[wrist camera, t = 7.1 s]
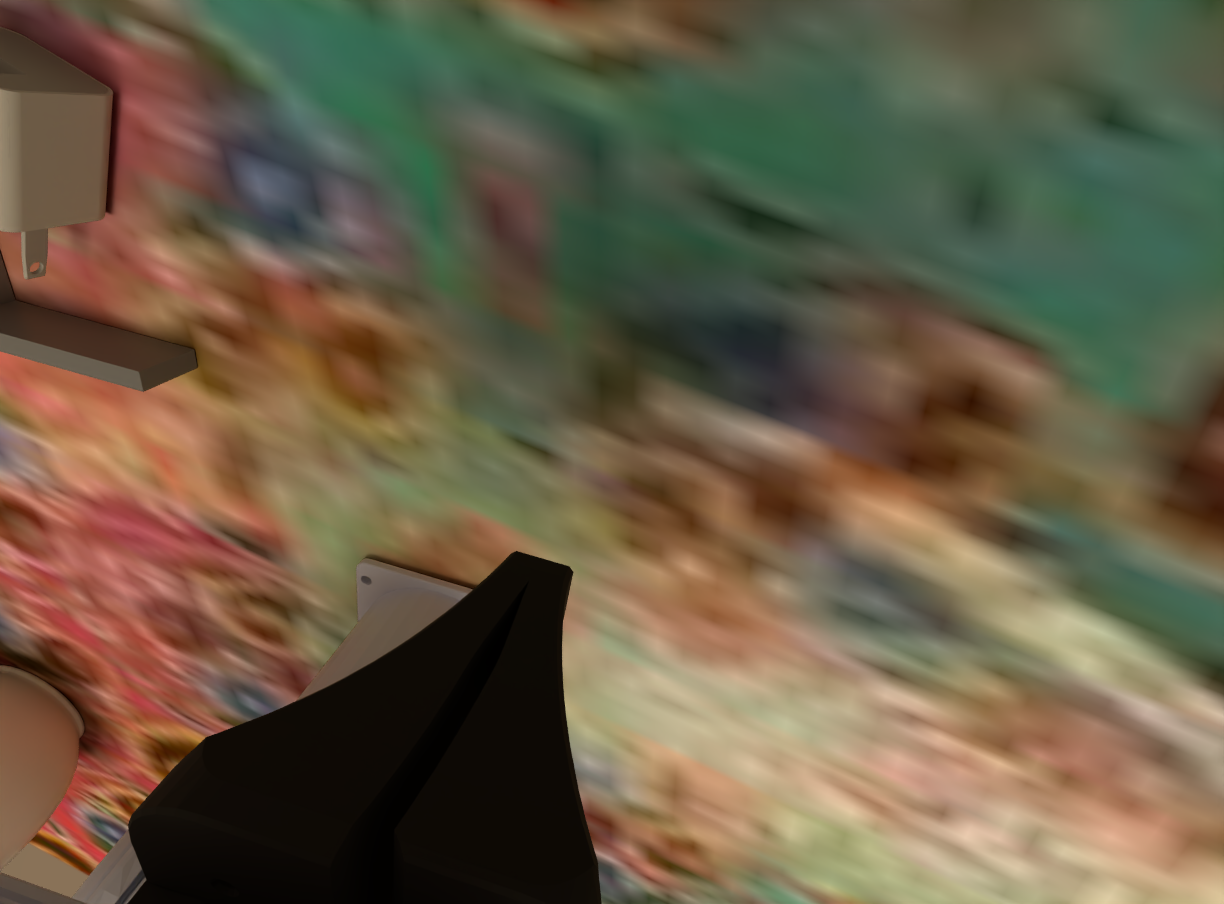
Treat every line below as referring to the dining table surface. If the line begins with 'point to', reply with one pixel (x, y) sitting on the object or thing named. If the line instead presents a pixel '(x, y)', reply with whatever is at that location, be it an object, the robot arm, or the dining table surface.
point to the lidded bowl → (33, 756)
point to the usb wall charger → (49, 145)
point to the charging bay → (87, 345)
